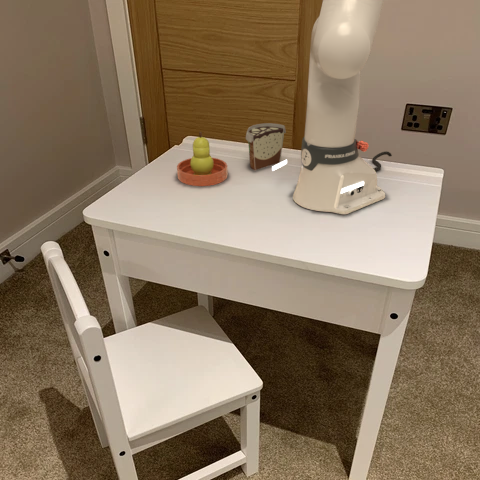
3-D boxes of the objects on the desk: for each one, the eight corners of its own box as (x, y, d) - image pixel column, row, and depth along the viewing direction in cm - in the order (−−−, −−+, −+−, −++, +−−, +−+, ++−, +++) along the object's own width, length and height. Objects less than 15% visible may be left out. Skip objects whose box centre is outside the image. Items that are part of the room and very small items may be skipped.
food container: (269, 155, 142) (270, 119, 135) (284, 161, 138) (286, 125, 132) (236, 166, 135) (236, 128, 129) (250, 172, 132) (251, 134, 125)
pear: (208, 170, 132) (206, 127, 125) (217, 178, 128) (216, 133, 121) (187, 174, 130) (184, 130, 123) (196, 182, 126) (194, 137, 119)
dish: (214, 164, 136) (214, 153, 134) (235, 181, 127) (235, 169, 125) (170, 173, 132) (169, 162, 130) (189, 190, 123) (188, 179, 121)
